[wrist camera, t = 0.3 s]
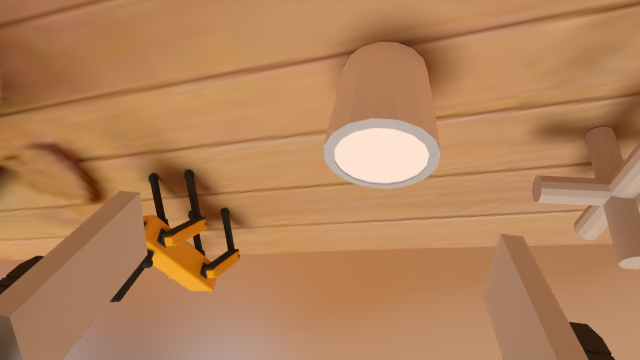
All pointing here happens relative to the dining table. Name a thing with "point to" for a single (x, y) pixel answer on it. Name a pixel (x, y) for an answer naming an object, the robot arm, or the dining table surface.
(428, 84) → the shot glass
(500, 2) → the dining table surface
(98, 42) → the dining table surface
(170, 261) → the robot dog
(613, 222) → the pipe connector
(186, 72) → the dining table surface
